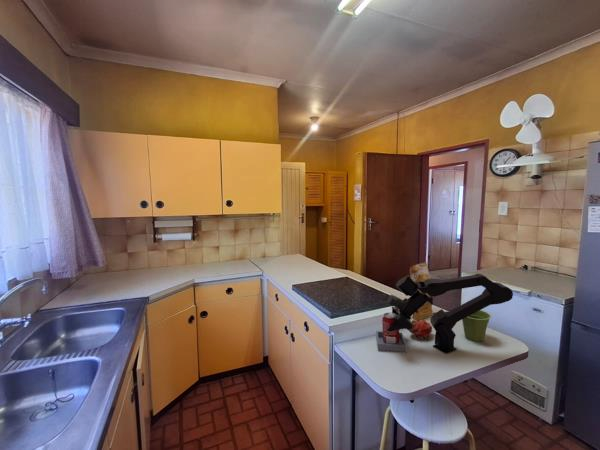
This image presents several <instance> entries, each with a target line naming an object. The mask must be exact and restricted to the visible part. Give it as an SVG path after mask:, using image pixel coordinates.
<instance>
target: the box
mask: <svg viewBox="0 0 600 450" xmlns="http://www.w3.org/2000/svg"><path fill="white" fill-rule="evenodd" d="M375 334H376V335H375V337H376V346H377V351H378V352H390V353H391V352H392V353H404V354H406V353H407V344H406V341H405V338H404V335H403V333H402V332H399V343H398V344H387V343H385V342H384V341H383V331H379V330H378V331H376V332H375Z"/></svg>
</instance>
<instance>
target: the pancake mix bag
mask: <svg viewBox="0 0 600 450" xmlns="http://www.w3.org/2000/svg"><path fill="white" fill-rule="evenodd" d="M408 271H409V276H410V278H411V279H412V280H413V281H414V282H422V281H425V280H427V279H431V276H430V272H429V267H428V262H427V261H423V262H421V263H417V264H415V265H411V266H410V268H409V270H408ZM418 290H419V289H418ZM419 291H420V290H419ZM420 292H421V291H420ZM426 294H427V293H426ZM427 295H428V294H427ZM428 296H430V295H428ZM418 311H419V312H418V313H416V312H415V313H414V314H413V315H412V319H413V320H415V321H417V320H420V321H422V320H425V319H426V318H429V317H430V316H433V315H434V314H433V313H434V312H433V305H431V304H430V303H429V302H426V303H425V304H424V305H423V306H422V307H421V308H420V309H419V310H418Z"/></svg>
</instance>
